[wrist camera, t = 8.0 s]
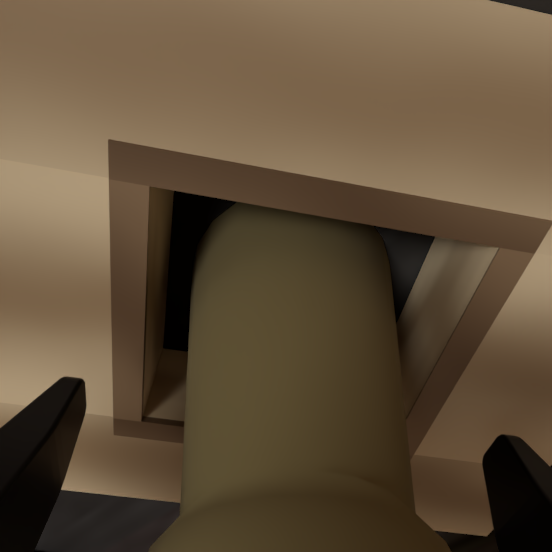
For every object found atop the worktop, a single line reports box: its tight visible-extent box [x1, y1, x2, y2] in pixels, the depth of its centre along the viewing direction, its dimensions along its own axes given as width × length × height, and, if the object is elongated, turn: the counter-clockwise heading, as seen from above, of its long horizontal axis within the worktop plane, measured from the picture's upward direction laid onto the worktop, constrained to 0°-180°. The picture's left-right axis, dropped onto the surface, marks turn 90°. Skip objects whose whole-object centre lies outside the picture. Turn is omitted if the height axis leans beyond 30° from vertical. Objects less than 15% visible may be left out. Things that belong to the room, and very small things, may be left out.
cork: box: [148, 202, 451, 552], centre depth 10 cm, size 6×6×11 cm
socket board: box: [0, 0, 552, 536], centre depth 13 cm, size 16×18×3 cm
